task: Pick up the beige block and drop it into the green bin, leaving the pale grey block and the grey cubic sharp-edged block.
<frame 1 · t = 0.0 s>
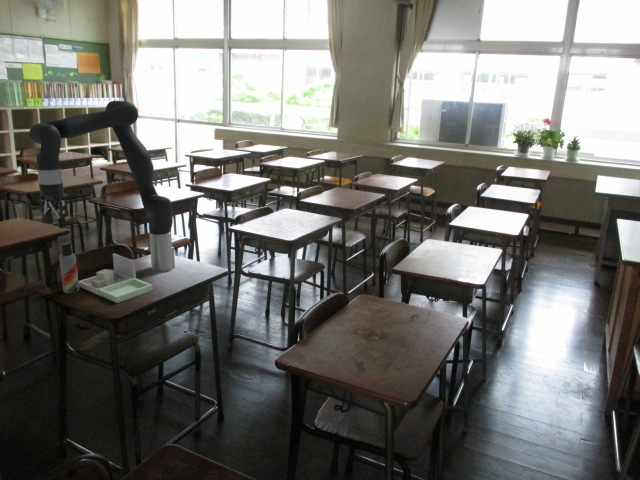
hand: (56, 225, 186), 29 cm above the table, tool pointing down, fingers open, 8 cm apart
bin lid: (125, 279, 216), on the table
pale grey block: (99, 289, 203), resting on grey bin
grey cubic sharp-edged block: (110, 280, 213), resting on grey bin
grey bin: (106, 285, 209), on the table
lotion bottle: (71, 291, 202), on the table
green bin: (126, 294, 202), on the table
beige block: (106, 285, 208), resting on grey bin
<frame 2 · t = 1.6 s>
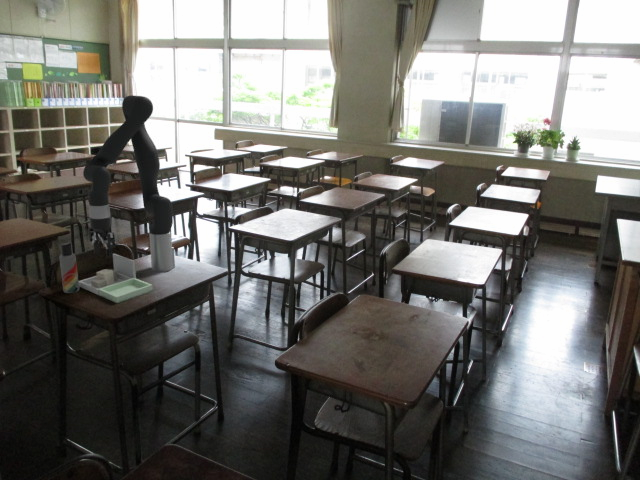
hand: (103, 254, 205), 13 cm above the table, tool pointing down, fingers open, 8 cm apart
nothing on the table moved.
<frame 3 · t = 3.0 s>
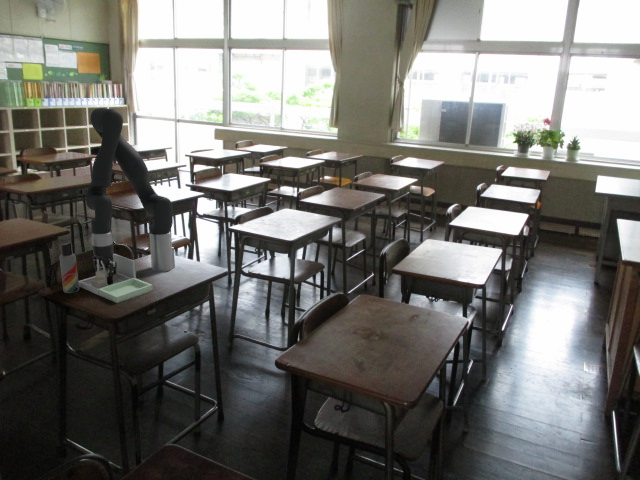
hand: (106, 282, 208), 1 cm above the table, tool pointing down, fingers closed on beige block, 4 cm apart
beige block: (105, 285, 208), point 1 cm above the table, touching grey bin, gripper
everything else where it was.
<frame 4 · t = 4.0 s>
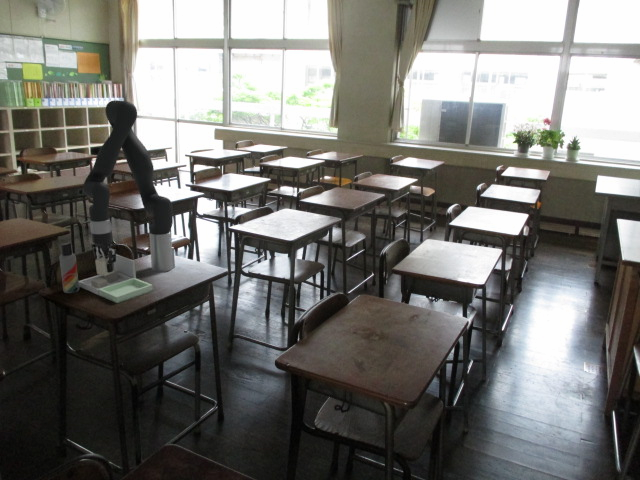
hand: (106, 270, 207), 7 cm above the table, tool pointing down, fingers closed on beige block, 4 cm apart
beige block: (105, 273, 207), point 6 cm above the table, touching gripper
everything else where it was.
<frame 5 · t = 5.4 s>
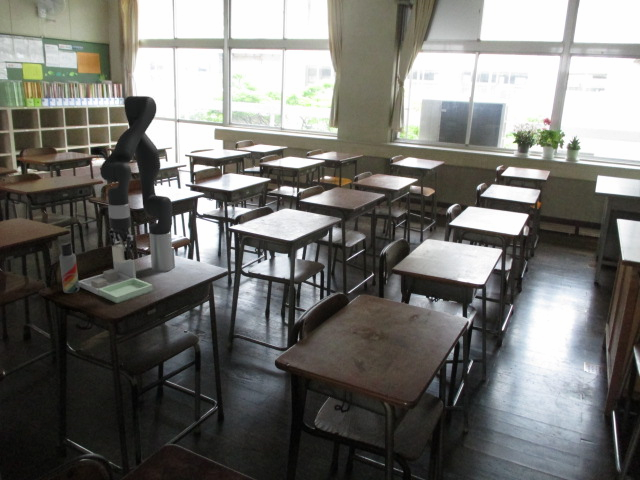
hand: (123, 257, 197), 15 cm above the table, tool pointing down, fingers closed on beige block, 4 cm apart
beige block: (121, 260, 197), point 14 cm above the table, touching gripper
everything else where it was.
when the fingers open (3 cm above the table, at t = 7.6 s): beige block stays where it is, resting on green bin.
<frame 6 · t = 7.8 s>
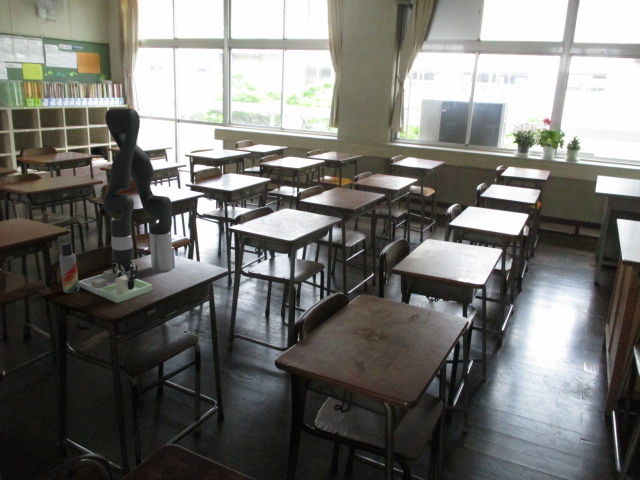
hand: (125, 286, 201), 3 cm above the table, tool pointing down, fingers open, 6 cm apart
beige block: (124, 292, 201), point 1 cm above the table, touching green bin
everything else where it was.
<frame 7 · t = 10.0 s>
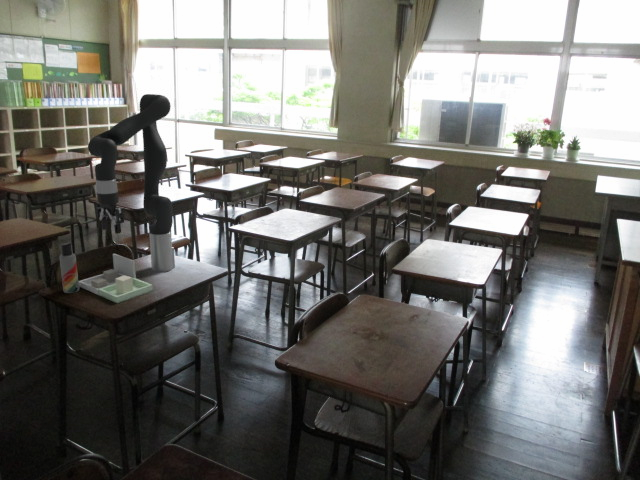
hand: (111, 231, 201), 24 cm above the table, tool pointing down, fingers open, 8 cm apart
nothing on the table moved.
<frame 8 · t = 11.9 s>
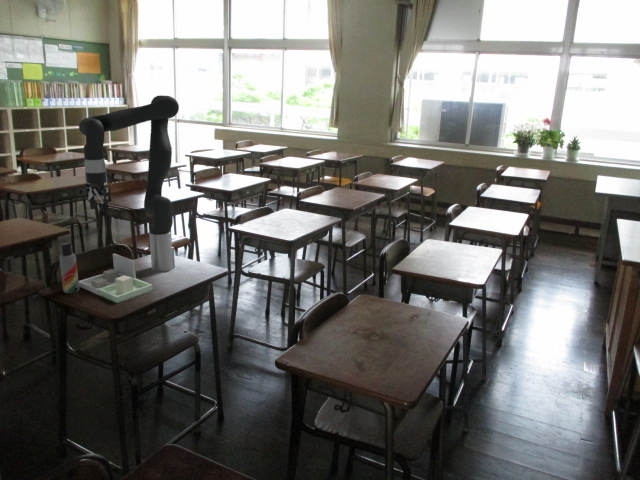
hand: (99, 210, 205), 30 cm above the table, tool pointing down, fingers open, 8 cm apart
nothing on the table moved.
at the end: beige block inside the target area on the green bin (0.7 cm from its centre), point 1.0 cm above the green bin's base; the gripper is holding nothing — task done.
